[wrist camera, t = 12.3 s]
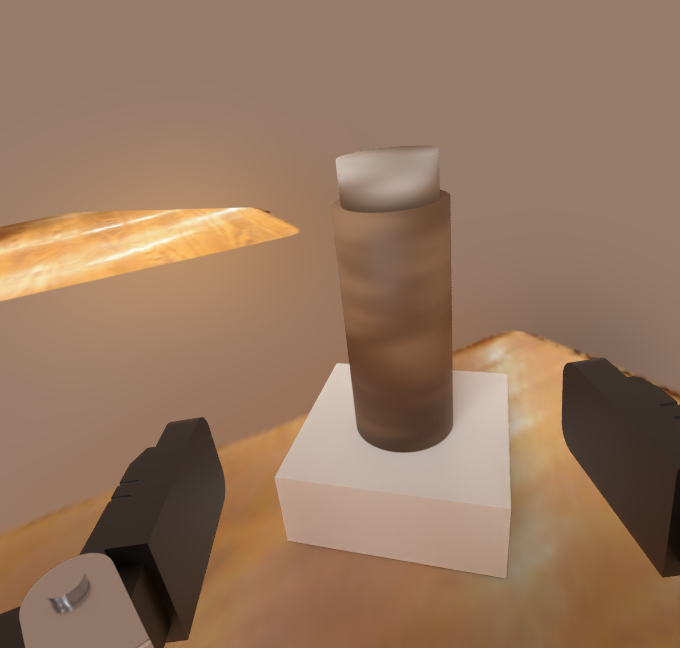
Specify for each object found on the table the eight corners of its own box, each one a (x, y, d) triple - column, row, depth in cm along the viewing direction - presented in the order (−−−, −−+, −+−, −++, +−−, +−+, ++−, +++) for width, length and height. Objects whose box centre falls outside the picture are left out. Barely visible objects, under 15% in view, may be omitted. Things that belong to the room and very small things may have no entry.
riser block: (287, 540, 24) (274, 477, 22) (343, 416, 32) (336, 363, 31) (506, 578, 21) (511, 509, 19) (504, 430, 29) (507, 373, 28)
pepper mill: (345, 446, 23) (308, 168, 18) (368, 390, 28) (344, 149, 22) (448, 457, 22) (442, 159, 17) (456, 396, 26) (454, 140, 21)
